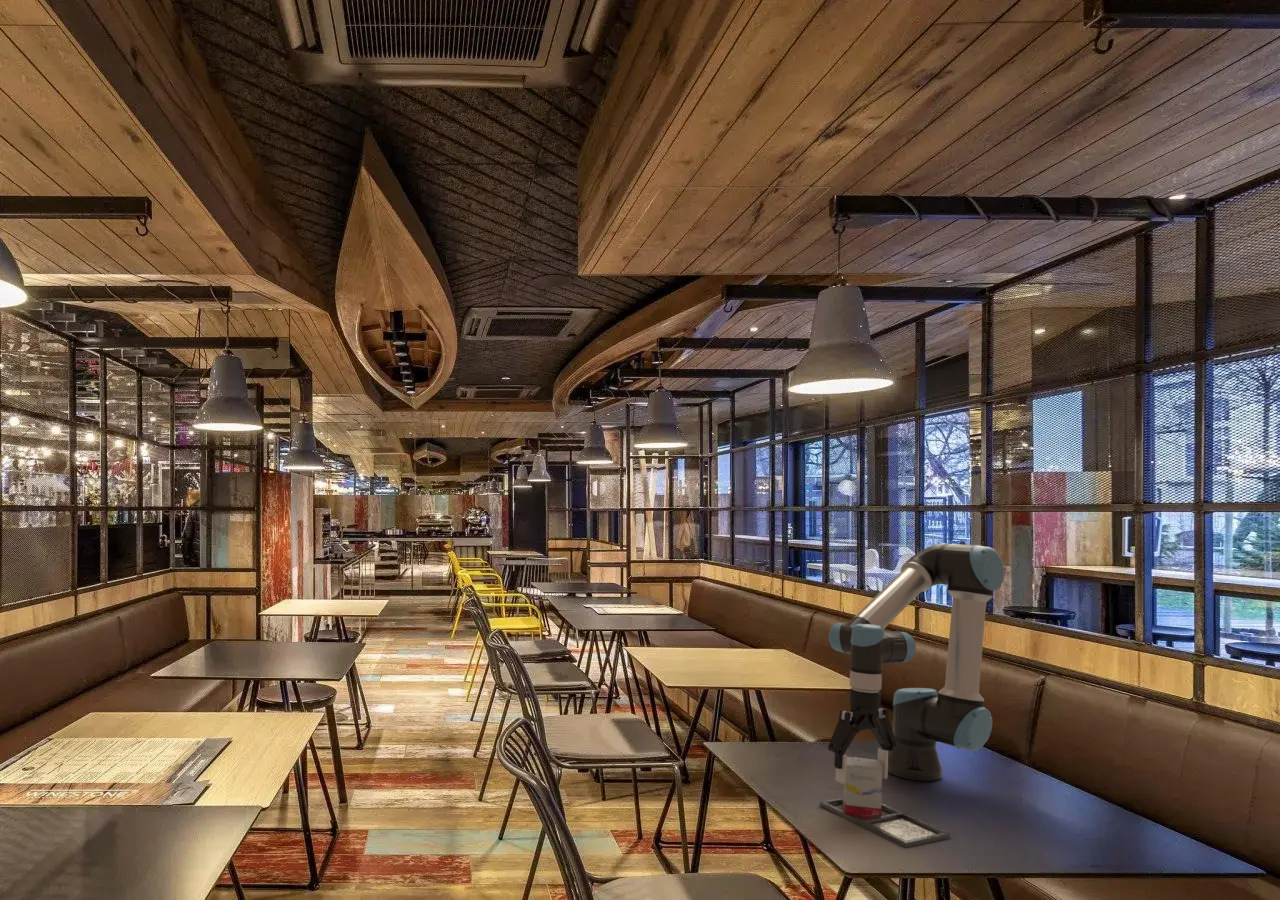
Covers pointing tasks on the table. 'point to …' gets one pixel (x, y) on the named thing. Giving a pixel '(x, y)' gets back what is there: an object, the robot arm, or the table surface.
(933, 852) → the table surface
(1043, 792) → the table surface
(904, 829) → the grey flat rectangular frame
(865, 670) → the robot arm
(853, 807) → the ink box
